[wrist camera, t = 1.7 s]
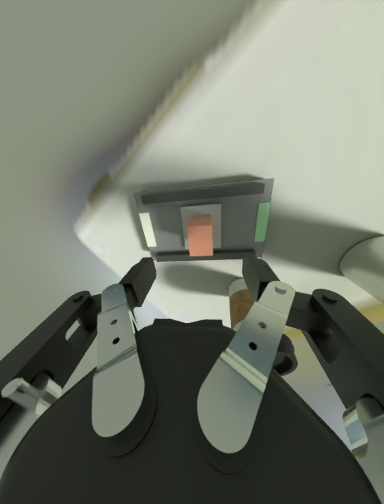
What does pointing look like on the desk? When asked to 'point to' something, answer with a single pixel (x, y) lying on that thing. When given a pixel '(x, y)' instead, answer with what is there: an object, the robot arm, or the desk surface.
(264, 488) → the robot arm
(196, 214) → the handle
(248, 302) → the coffee cup
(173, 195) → the switch box
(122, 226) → the desk surface
